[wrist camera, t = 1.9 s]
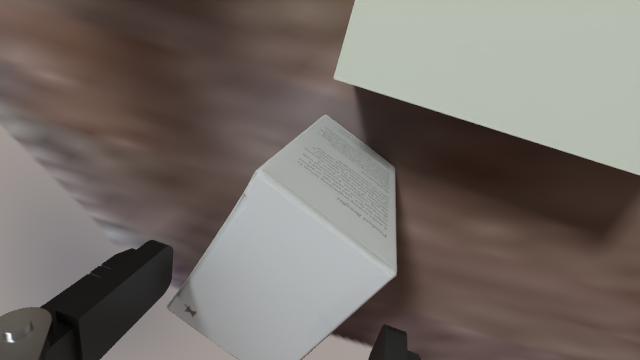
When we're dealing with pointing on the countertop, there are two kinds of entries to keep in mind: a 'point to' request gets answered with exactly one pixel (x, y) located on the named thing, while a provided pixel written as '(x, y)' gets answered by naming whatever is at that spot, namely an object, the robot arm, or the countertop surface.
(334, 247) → the small box
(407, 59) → the block
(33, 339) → the robot arm
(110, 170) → the countertop surface
